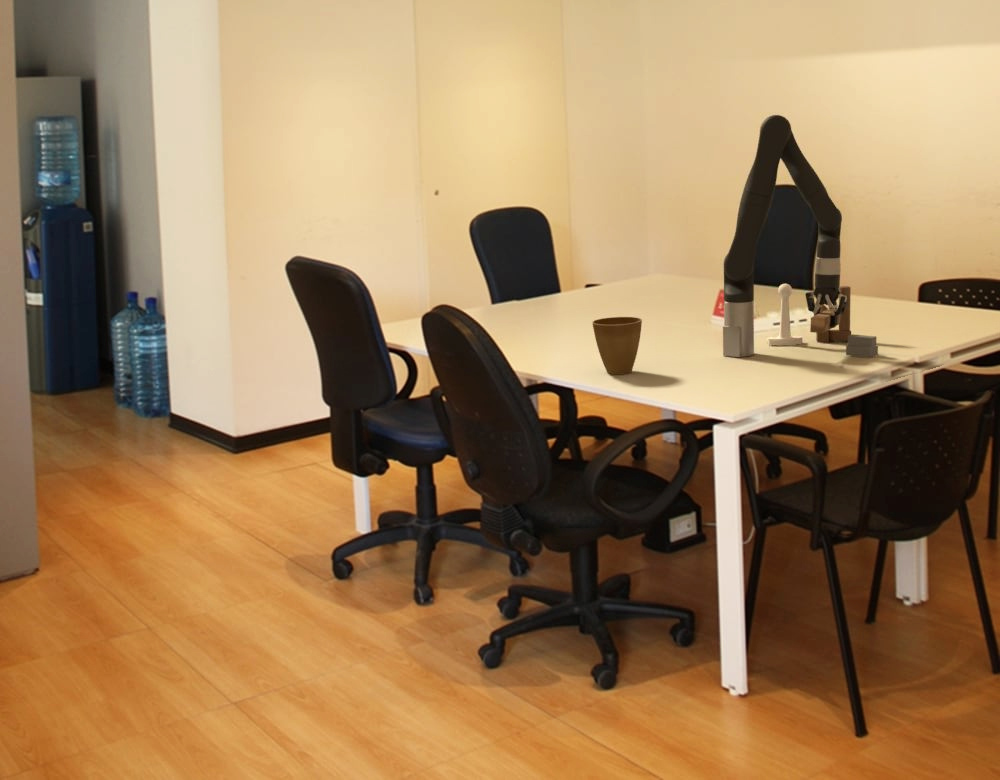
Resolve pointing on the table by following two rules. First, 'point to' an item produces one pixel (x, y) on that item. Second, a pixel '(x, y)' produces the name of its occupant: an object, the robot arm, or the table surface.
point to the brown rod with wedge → (843, 324)
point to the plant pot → (618, 342)
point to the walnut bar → (822, 322)
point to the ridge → (862, 346)
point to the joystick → (784, 321)
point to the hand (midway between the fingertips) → (825, 326)
